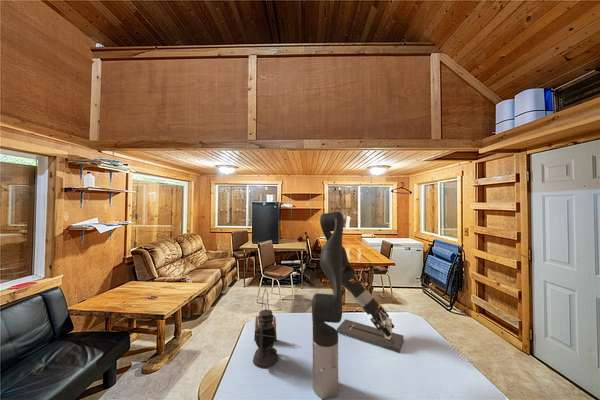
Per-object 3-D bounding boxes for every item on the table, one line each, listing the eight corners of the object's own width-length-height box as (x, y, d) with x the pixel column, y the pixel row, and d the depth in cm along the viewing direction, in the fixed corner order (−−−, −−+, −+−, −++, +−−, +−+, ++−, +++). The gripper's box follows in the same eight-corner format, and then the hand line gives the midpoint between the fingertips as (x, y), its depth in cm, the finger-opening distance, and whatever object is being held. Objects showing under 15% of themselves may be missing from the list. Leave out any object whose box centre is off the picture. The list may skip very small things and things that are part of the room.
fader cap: (384, 338, 110) (384, 321, 110) (386, 334, 113) (386, 317, 113) (390, 339, 108) (390, 322, 109) (391, 335, 112) (391, 319, 112)
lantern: (272, 371, 91) (272, 295, 92) (247, 367, 93) (248, 293, 94) (281, 351, 103) (281, 284, 104) (259, 348, 106) (259, 283, 106)
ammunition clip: (276, 339, 113) (276, 315, 113) (276, 342, 111) (276, 316, 111) (255, 339, 114) (255, 314, 114) (254, 341, 112) (254, 316, 112)
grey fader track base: (336, 332, 119) (336, 328, 119) (345, 322, 129) (345, 319, 129) (399, 353, 103) (399, 348, 103) (403, 339, 113) (403, 335, 113)
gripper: (368, 302, 109) (394, 335, 103) (376, 292, 121) (399, 321, 115) (357, 311, 112) (382, 343, 105) (366, 300, 124) (388, 328, 118)
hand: (391, 331), depth 110 cm, fingers open, 7 cm apart
